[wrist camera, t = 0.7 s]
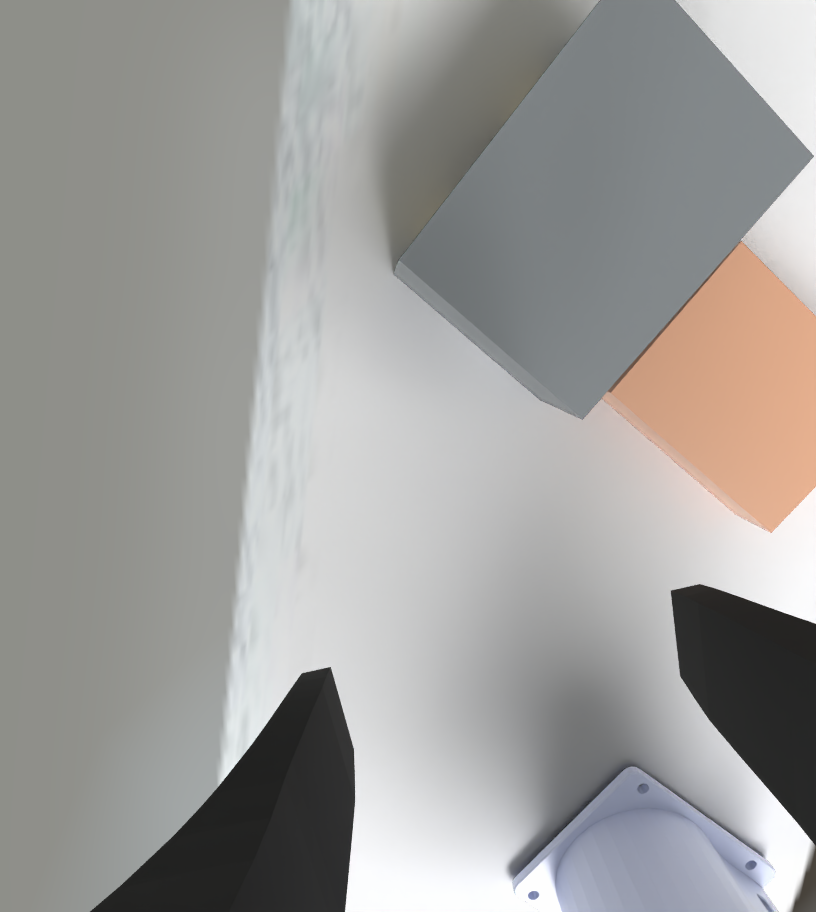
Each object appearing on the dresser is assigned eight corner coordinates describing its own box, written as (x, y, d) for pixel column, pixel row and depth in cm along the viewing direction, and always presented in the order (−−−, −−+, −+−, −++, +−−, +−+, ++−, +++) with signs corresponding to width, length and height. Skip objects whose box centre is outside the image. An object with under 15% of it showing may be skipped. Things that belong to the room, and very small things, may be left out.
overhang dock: (717, 193, 19) (814, 156, 15) (540, 400, 20) (582, 419, 16) (573, 42, 17) (635, -45, 13) (393, 273, 19) (398, 259, 15)
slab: (840, 391, 21) (898, 400, 19) (728, 510, 22) (770, 532, 20) (697, 251, 20) (741, 241, 17) (583, 385, 20) (610, 392, 18)
